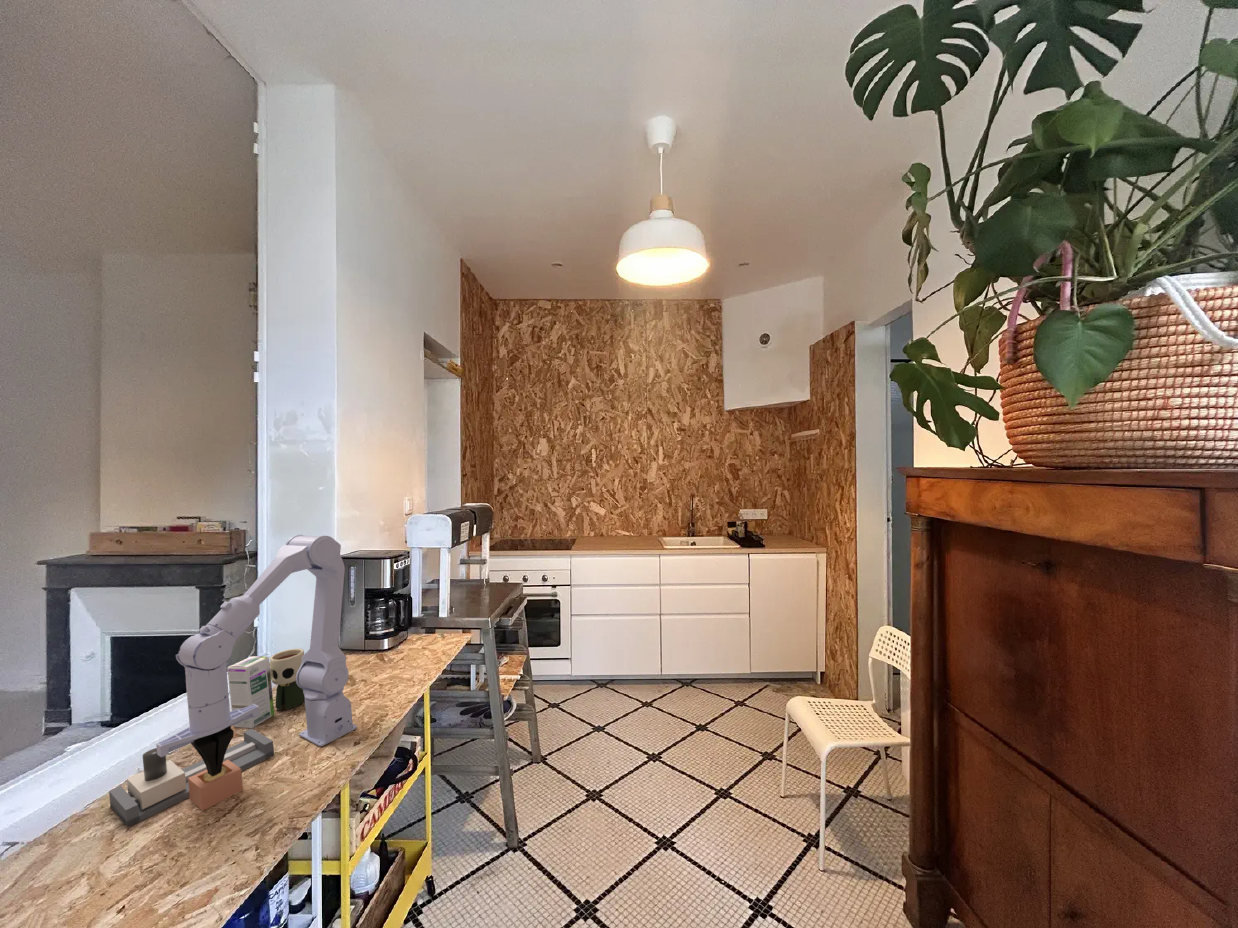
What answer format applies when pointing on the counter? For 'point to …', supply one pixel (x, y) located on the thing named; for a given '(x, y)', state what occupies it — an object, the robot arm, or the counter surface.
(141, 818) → the rail
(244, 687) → the syrup box
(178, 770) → the carriage
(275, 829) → the counter surface
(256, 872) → the counter surface
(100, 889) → the counter surface
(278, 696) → the character mug
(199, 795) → the box
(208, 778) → the button
